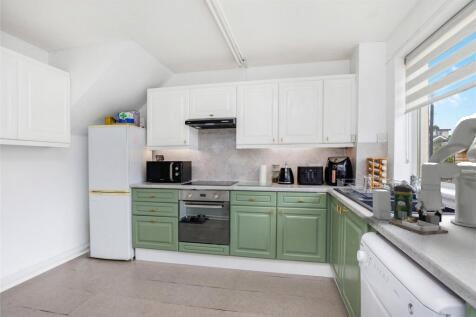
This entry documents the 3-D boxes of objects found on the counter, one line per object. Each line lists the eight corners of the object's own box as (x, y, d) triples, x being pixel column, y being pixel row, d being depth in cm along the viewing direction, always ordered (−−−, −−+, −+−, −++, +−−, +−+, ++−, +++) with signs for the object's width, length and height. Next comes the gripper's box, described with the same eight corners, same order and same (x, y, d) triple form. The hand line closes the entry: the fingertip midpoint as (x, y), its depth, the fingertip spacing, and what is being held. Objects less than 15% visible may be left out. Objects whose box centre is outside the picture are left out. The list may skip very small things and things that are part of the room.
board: (411, 221, 121) (411, 214, 120) (448, 232, 103) (448, 225, 103) (388, 222, 118) (388, 215, 118) (422, 234, 100) (422, 226, 100)
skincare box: (391, 220, 123) (391, 191, 123) (377, 219, 124) (377, 190, 124) (384, 216, 131) (384, 189, 131) (371, 215, 132) (372, 188, 132)
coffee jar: (396, 214, 134) (397, 183, 134) (413, 217, 128) (414, 184, 128) (391, 217, 128) (392, 184, 127) (408, 220, 122) (409, 186, 121)
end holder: (419, 223, 113) (419, 220, 113) (440, 230, 103) (440, 226, 103) (401, 224, 111) (401, 221, 111) (421, 231, 101) (421, 227, 101)
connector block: (429, 223, 117) (429, 212, 117) (439, 226, 112) (439, 215, 112) (420, 224, 116) (421, 212, 116) (430, 227, 111) (431, 215, 111)
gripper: (437, 186, 119) (436, 219, 119) (409, 187, 116) (408, 220, 116) (453, 188, 112) (452, 223, 112) (423, 189, 109) (422, 225, 109)
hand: (430, 221), depth 114 cm, fingers open, 9 cm apart
